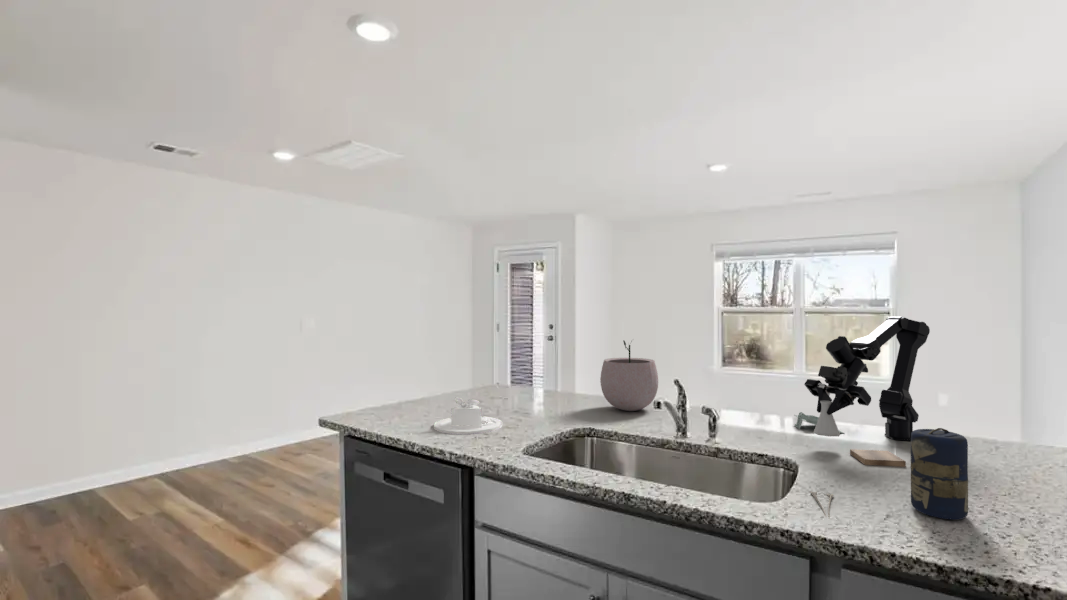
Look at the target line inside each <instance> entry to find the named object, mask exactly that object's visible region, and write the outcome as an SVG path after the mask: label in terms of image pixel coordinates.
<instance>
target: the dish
mask: <svg viewBox="0 0 1067 600" xmlns="http://www.w3.org/2000/svg"><path fill="white" fill-rule="evenodd" d="M454 401H455V402H456V404H458V405H457V406H455V407H453V408H451V410H450V411H451V412H450V415H451V417H447V418H443V419H440V420H437V421H435V423H433V429H434V430H435V431H437V432H440V433H443V434H449V435H450V434H451V435H476V434H484V433H489V432H494V431H496V430H499V429H500V428H502V427H503V421H502V420H501V419H499V418H497V417H496V418H495V417H491V416H485V415H484V416H482V413H483V411H482V408H481V406H480V407H479V406H478V404H480V401H479V400H477V399H473V398H472V399H467V400H465V401H464V400H463V399H462V398H461V397H457V396H456V397H454ZM483 421H486V422H488V423H487V424H486V423H485V424H482V422H483ZM451 425H475V426H451Z"/></svg>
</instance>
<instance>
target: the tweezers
mask: <svg viewBox="0 0 1067 600" xmlns="http://www.w3.org/2000/svg"><path fill="white" fill-rule="evenodd" d="M817 494H818V491H810V495H812V496H813V497H814V499H815V500H816V502H817V503H818V505H819V507H820V509H821V510H822V512H823V514H824V516H825V518H826V519H827V518H828V519H829V520H830V519H831V518H830V509H831V507H830V506H831V500H832V499H833V497H834V493H832V494H830V493H826V495H827V497H829V498H828V499H829V500H828V509H827V513H828V515H827V514H826V512H825V509H824V507H823V505H822V504H821V501H820V500H819V498H818V496H817ZM827 516H828V517H827Z"/></svg>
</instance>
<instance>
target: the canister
mask: <svg viewBox="0 0 1067 600" xmlns="http://www.w3.org/2000/svg"><path fill="white" fill-rule="evenodd" d="M968 442H969V441H968V439H967V438H966V436H964V435H962V434H959V433H956V432H952V431H949V430H948V429H945V428H942V427H938V428H935V429H933V428H918V429H915V430H914V429H913V432H912V433H911V441H910V504H911V506H912V507H913V508H914V509H915V510H916V511H918V512H920V513H922V514H924V515H927V516H930V517H934V518H939V519H944V520H963V519H965V518H966V517H967V516H968V514H969V473H968V471H969V470H968V468H969V458H968V457H969V454H968V453H969V445H968Z"/></svg>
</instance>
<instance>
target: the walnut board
mask: <svg viewBox="0 0 1067 600" xmlns="http://www.w3.org/2000/svg"><path fill="white" fill-rule="evenodd" d="M849 455H850V456H852V457H853V458H854V459H855V460H857V461H859V462H861V463H862V464H863V465H866V466H882V467H885V466H886V467H901V468H902V467H904V468H905V467H907V463H906V460H905V459H903V458H901V457H899V456H898V455H896V454H894V453H892V452H890V451H889V450H879V449H878V450H873V449H855V448H853V449H852V448H851V449H849Z"/></svg>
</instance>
